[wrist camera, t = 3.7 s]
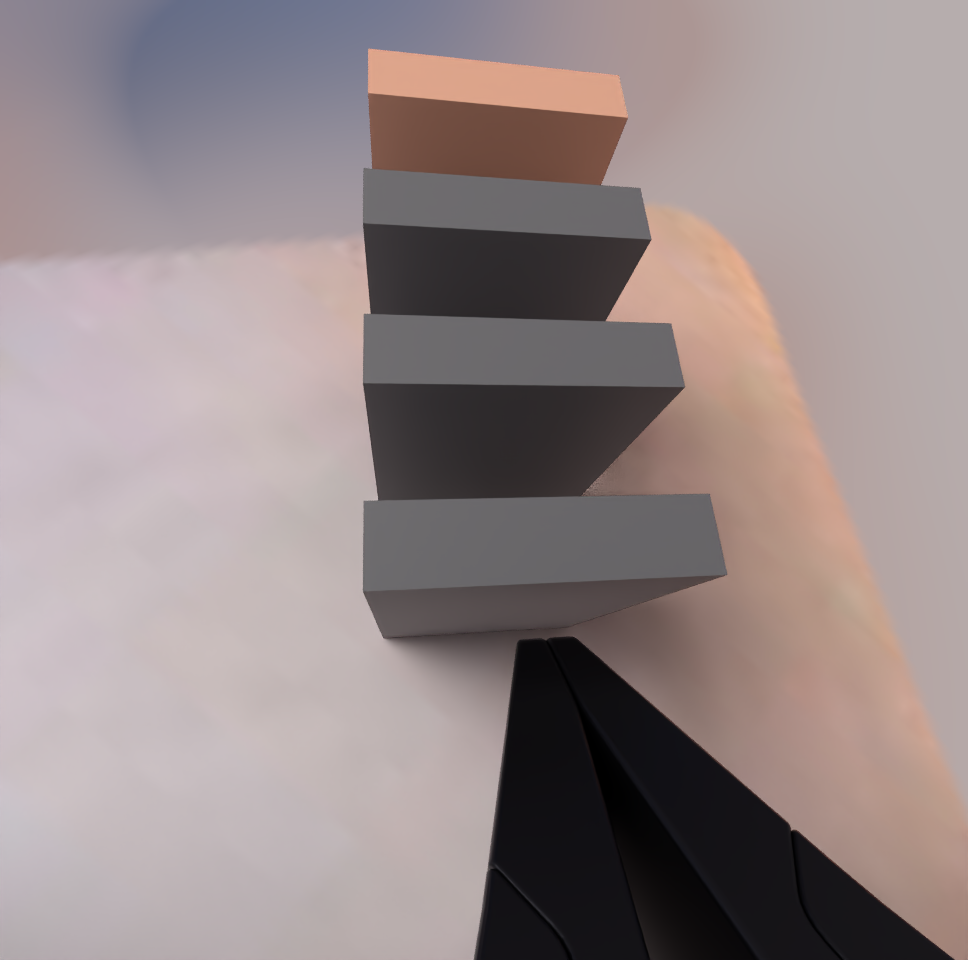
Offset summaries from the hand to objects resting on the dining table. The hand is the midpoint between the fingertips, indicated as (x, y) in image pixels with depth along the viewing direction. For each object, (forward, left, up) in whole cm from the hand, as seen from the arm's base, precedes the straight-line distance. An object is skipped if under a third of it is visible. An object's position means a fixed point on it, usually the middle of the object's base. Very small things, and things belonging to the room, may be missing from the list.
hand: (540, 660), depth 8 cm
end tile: (+8, -7, -7) cm, 13 cm away
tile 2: (+3, -3, -7) cm, 8 cm away
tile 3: (+6, -5, -7) cm, 10 cm away
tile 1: (+1, -1, -7) cm, 7 cm away
